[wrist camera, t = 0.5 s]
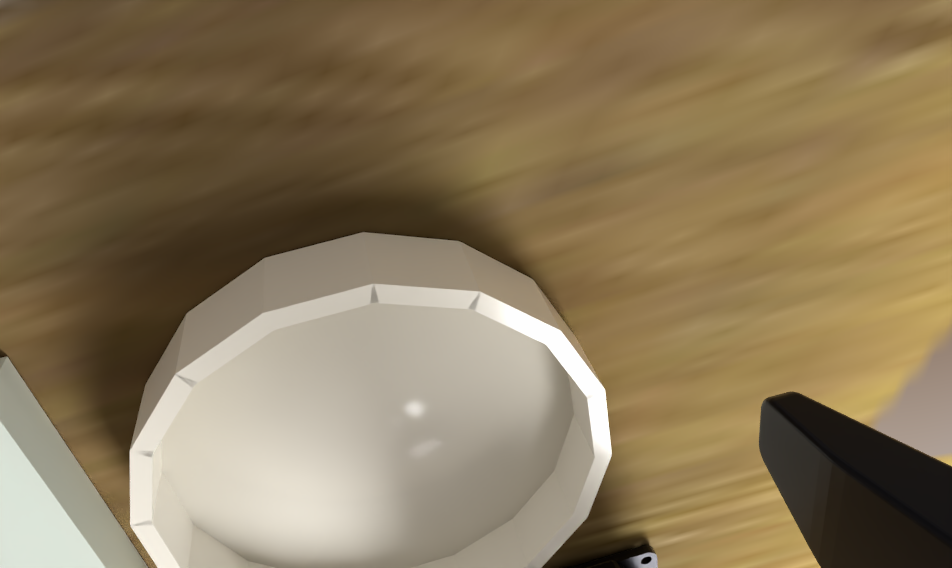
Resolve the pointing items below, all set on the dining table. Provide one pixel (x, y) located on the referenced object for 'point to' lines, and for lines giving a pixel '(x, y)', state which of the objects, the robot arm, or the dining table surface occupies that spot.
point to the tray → (49, 494)
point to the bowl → (369, 417)
